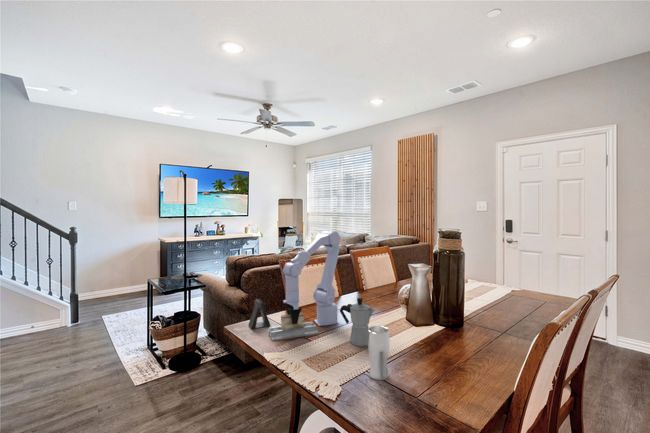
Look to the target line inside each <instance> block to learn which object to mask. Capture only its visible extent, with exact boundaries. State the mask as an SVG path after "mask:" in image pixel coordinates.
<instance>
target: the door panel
mask: <svg viewBox="0 0 650 433" xmlns="http://www.w3.org/2000/svg"><path fill="white" fill-rule="evenodd" d="M305 323H306V321H305V313H304V312H300V314H299V318H298V323H297V324H292V320H291V315H290V314H289V315H288V314H282V315H280V326H281V330H285V329H292V328H299V327H305Z"/></svg>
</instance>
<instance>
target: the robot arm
mask: <svg viewBox="0 0 650 433" xmlns="http://www.w3.org/2000/svg"><path fill="white" fill-rule="evenodd" d="M340 242H341V236H340V234H339V233H338V232H337V231H336V230H333V231H330V230H321V231H319V232H318V233H317V234H316V236H315V238H314V240H313V241H312V242H311V243H310V244H309V245H308V246H307V248H306V249H305V250H300V251H298V252H297V255H296V256H295V257H294V258H292V259H290V261H289V262H286V263H285V264H284V266H283V269H282V273H283V274H284V279H285V299H284V300H282V302H283V304H284V306H285V308H286V311H287V315H289V314H290V315H291V320H292V324H297V323H298V318H299V314H300V313H302V312H301V311H302V306H300V305H299V304H300V288H299V286H300V285H299V282H300V281H299V276H300V275H301V274H302V270H303V268H304V267H305V265H307V264H308V262H309V261H311V256H312V255H313V254H314V253H315V252H317V251H318V249H320V248H321V247H322V246H323V247H325V249H326V250H327V253H326V257H325V263H324V268H323V271H322V277H321V282H319V284H317V285H316V288H315V290H314V292H313V294H312V297H313V300H314V302H315V304H316V318H315V319H314V321H313V322H315V323H316V324H317V325H318V326H319V327H321V326H323V327H324V326H329V325H330V326H331V325H337V324H338V323H339V321H338V306H337V304H336V303H335V299H336V296H335V295H336V294H335V293H336V289H335V288H334V286H333V282H334V277H335V272H336V269H337V268H336V267H337V263H338V258H339V254H340V253H339V252H340Z"/></svg>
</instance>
